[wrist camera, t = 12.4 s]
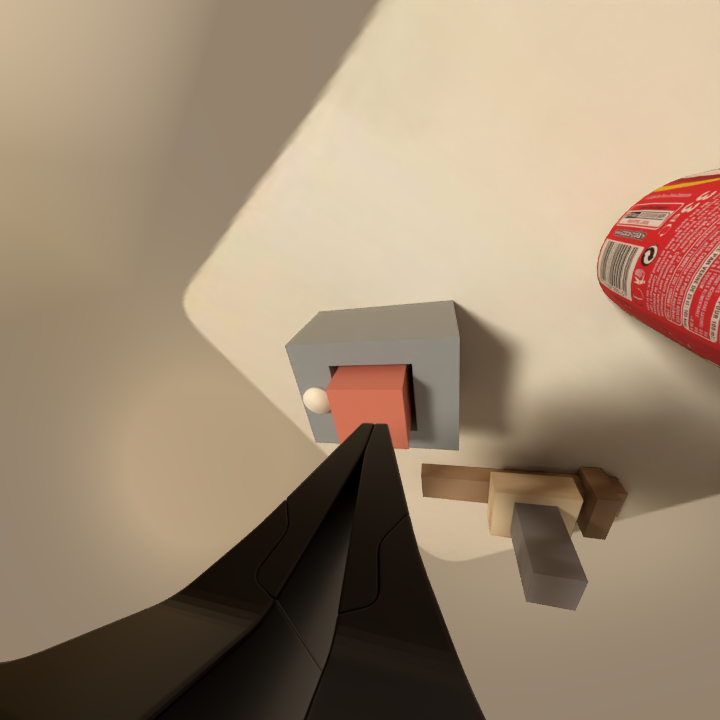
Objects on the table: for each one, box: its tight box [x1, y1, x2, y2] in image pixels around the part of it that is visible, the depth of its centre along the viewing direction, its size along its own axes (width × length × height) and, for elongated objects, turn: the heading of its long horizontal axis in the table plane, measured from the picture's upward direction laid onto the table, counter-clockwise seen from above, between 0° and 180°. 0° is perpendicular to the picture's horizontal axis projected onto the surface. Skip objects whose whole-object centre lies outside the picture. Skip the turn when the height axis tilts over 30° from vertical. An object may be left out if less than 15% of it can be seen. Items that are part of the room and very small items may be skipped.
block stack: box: [487, 472, 588, 611], centre depth 21 cm, size 6×6×7 cm
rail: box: [421, 464, 628, 540], centre depth 25 cm, size 16×5×3 cm, turn 100°
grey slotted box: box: [285, 300, 460, 450], centre depth 20 cm, size 10×8×6 cm
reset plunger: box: [326, 364, 413, 449], centre depth 17 cm, size 4×4×4 cm
